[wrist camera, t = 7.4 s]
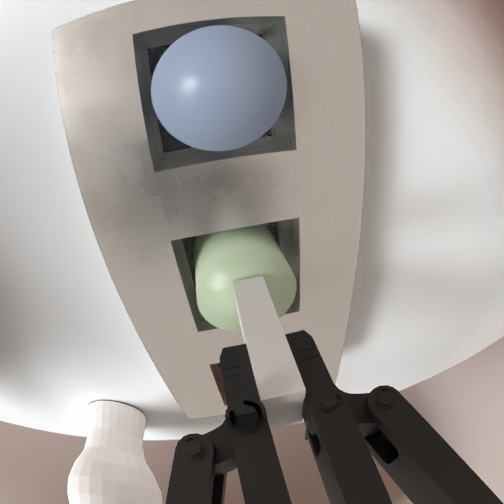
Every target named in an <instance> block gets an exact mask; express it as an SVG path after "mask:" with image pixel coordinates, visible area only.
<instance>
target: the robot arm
mask: <svg viewBox="0 0 504 504" xmlns="http://www.w3.org/2000/svg"><path fill="white" fill-rule="evenodd" d="M232 283H233V289H234V294H235V300H236V306H237V311H238V317H239V322H240V326H241V330H242V335H243V339H244V343H245V344H241V345H236V346H231V347H225V348H223V349H222V352H221V355H220V358H219V359H220V365H221V372H222V378H223V384H224V390H225V396H226V402H227V409H226V414H225V418H226V420H225V421H224V423H223V424H222V425H221V426H220V427H218V428H216V429H215V430H212V431H210V432H208V433H206V434H204V435H201V434H189V435H186V436H184V437H183V438H182V439H180V440H179V442H178V444H177V446H176V449H175V454H174V460H173V465H172V471H171V476H170V482H169V488H168V493H167V499H166V504H224V497H225V486H226V476H227V472H229V471H232V470H234V469H236V468H238V473H239V477H240V482H241V487H242V491H243V496H244V500H245V504H292V503H291V500H290V497H289V493H288V490H287V487H286V483H285V480H284V476H283V473H282V470H281V466H280V463H279V459H278V456H277V452H276V449H275V445H274V442H273V438H272V434H271V431H270V429H274V428H278V427H282V426H286V425H290V424H294V423H298V422H302V421H303V419H304V422H305V425H306V431H305V440H307V439H308V440H309V443H310V446H311V449H312V452H313V455H314V458H315V461H316V463H317V466H318V469H319V472H320V475H321V478H322V481H323V484H324V487H325V489H326V492H327V495H328V498H329V501H330V503H331V504H392V502H391V500H390V497H389V495H388V492H387V490H386V488H385V486H384V483H383V481H382V479H381V476H380V474H379V472H378V469H377V467H376V465H375V462H374V460H373V458H372V455H373V456H374V458H375V459H376V460H377V461H378V462H379V464H380V465H381V466H382V467H383V468H384V470H385V471H386V472H387V473H388V474H389V476H390V477H391V478H392V479H393V480H394V482H395V483H396V484H397V485H398V486H399V487H400V489H401V490H402V491H403V492H404V493H405V494H406V496H407V497H408V498H409V499H410V500H411V501H412V503H413V504H503V503H502V502H501V500H500V499H499V498H498V497H497V496H496V495H495V494H494V493H493V492H492V491H491V490H490V489H489V488H488V486H487V485H486V484H485V483H484V482H483V481H482V480H481V479H480V478H479V477H478V476H477V474H476V473H475V472H474V471H473V470H472V469H471V468H470V467H469V466H468V465H467V464H466V463H465V462H464V460H463V459H462V458H461V457H460V456H459V455H458V454H457V453H456V452H455V451H454V450H453V449H452V448H451V447H450V446H449V445H448V443H447V442H446V441H445V440H444V439H443V438H442V437H441V436H440V435H439V434H438V433H437V432H436V431H435V430H434V429H433V427H432V426H431V425H430V424H429V423H428V422H427V421H426V420H425V419H424V418H423V417H422V416H421V415H420V414H419V413H418V412H417V411H416V410H415V408H414V407H413V406H412V405H411V404H410V403H409V402H408V401H407V400H406V399H405V398H404V397H403V396H402V395H401V394H400V393H399V392H398V391H397V390H396V389H394V388H393V387H390V386H387V385H386V386H379V387H376V388H374V389H373V390H372V391H371V392H370V393H365V394H349V393H345V392H343V391H341V390H339V389H338V388H337V387H336V386H335V384H334V383H333V380H332V378H331V376H330V374H329V372H328V369H327V367H326V365H325V363H324V361H323V359H322V356H321V354H320V352H319V350H318V349H317V346H316V343H315V341H314V339H313V337H312V336H311V335H309V334H308V333H307V332H306V331H305V330H301V331H297V332H293V333H289V334H285V333H284V331H283V328H282V325H281V323H280V320H279V317H278V315H277V312H276V310H275V307H274V304H273V302H272V299H271V296H270V294H269V291H268V289H267V286H266V283H265V281H264V278H263V276H258V277H253V278H248V279H243V280H237V281H232ZM371 454H372V455H371Z"/></svg>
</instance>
